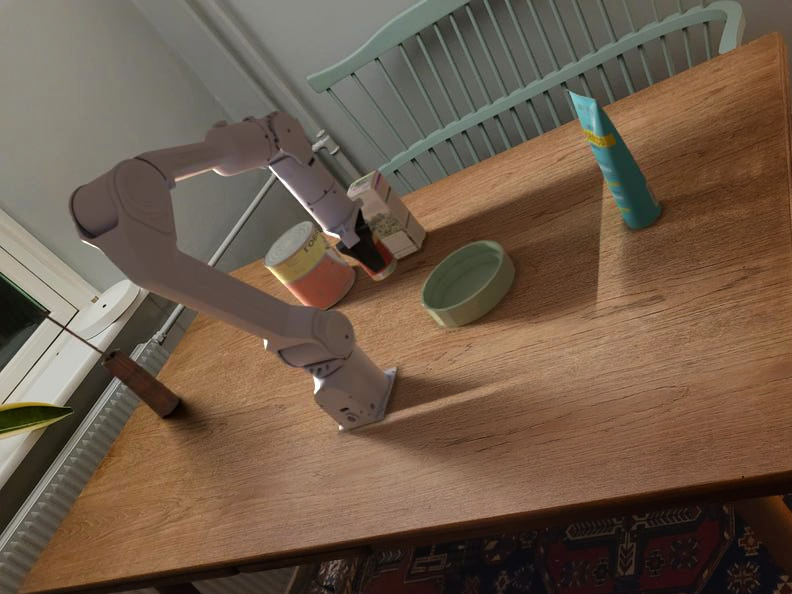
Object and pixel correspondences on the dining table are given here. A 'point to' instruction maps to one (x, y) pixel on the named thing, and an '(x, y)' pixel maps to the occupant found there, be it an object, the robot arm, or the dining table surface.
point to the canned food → (309, 266)
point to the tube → (617, 165)
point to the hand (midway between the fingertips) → (377, 261)
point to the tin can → (388, 259)
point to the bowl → (468, 283)
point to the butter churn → (134, 378)
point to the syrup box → (387, 215)
